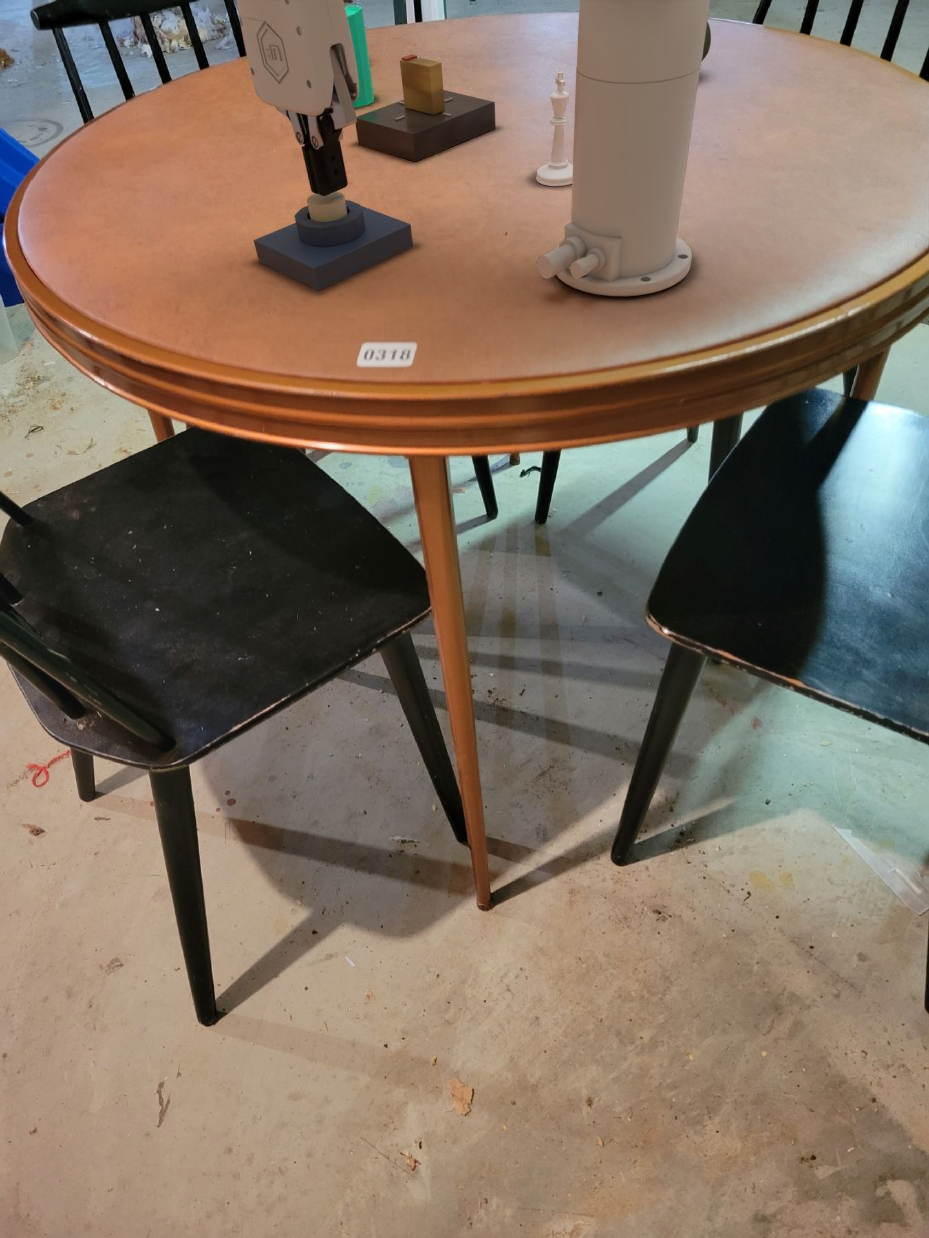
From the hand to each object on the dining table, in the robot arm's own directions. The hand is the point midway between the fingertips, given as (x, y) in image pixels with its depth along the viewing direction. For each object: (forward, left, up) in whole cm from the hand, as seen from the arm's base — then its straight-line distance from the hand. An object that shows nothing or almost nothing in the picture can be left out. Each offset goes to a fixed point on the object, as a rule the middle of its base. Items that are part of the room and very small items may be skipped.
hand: (330, 189), depth 73 cm
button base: (0, +1, -6) cm, 6 cm away
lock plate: (+29, +19, -6) cm, 35 cm away
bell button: (0, +1, -3) cm, 3 cm away
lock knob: (+29, +19, -3) cm, 34 cm away
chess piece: (+28, -4, -6) cm, 29 cm away
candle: (+33, +39, -6) cm, 51 cm away
